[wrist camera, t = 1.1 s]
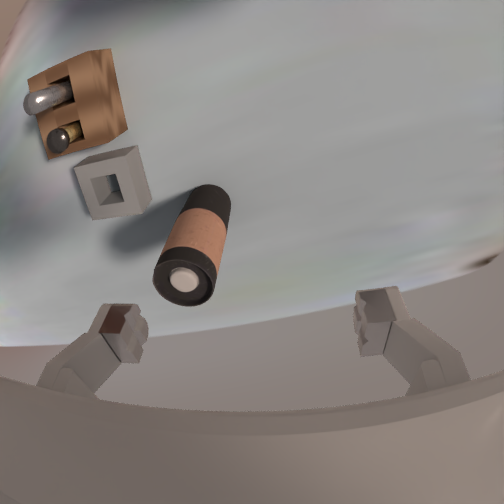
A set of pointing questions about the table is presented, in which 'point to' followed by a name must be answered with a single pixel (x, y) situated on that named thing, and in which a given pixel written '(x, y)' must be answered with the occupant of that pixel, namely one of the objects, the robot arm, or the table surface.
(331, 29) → the table surface
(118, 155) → the grey square ring block
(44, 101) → the grey tapered rounded rod
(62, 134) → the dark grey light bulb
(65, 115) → the socket block
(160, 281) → the travel mug
